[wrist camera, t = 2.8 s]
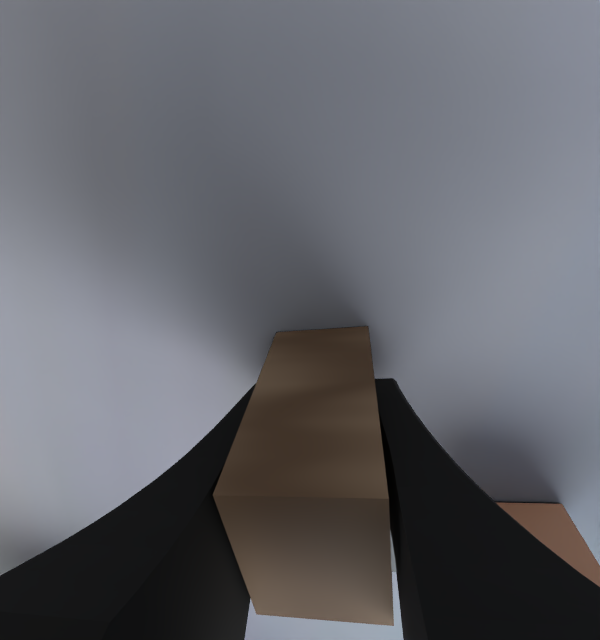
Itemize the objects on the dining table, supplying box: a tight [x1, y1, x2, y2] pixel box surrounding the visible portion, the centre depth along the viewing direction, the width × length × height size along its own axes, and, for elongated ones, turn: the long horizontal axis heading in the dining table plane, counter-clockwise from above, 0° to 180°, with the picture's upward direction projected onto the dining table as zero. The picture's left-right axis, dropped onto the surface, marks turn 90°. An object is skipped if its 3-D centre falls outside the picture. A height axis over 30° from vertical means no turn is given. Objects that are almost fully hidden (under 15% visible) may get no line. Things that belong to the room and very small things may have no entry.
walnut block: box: [213, 326, 394, 626], centre depth 9 cm, size 3×4×6 cm
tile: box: [497, 503, 600, 587], centre depth 11 cm, size 5×2×6 cm, turn 98°
